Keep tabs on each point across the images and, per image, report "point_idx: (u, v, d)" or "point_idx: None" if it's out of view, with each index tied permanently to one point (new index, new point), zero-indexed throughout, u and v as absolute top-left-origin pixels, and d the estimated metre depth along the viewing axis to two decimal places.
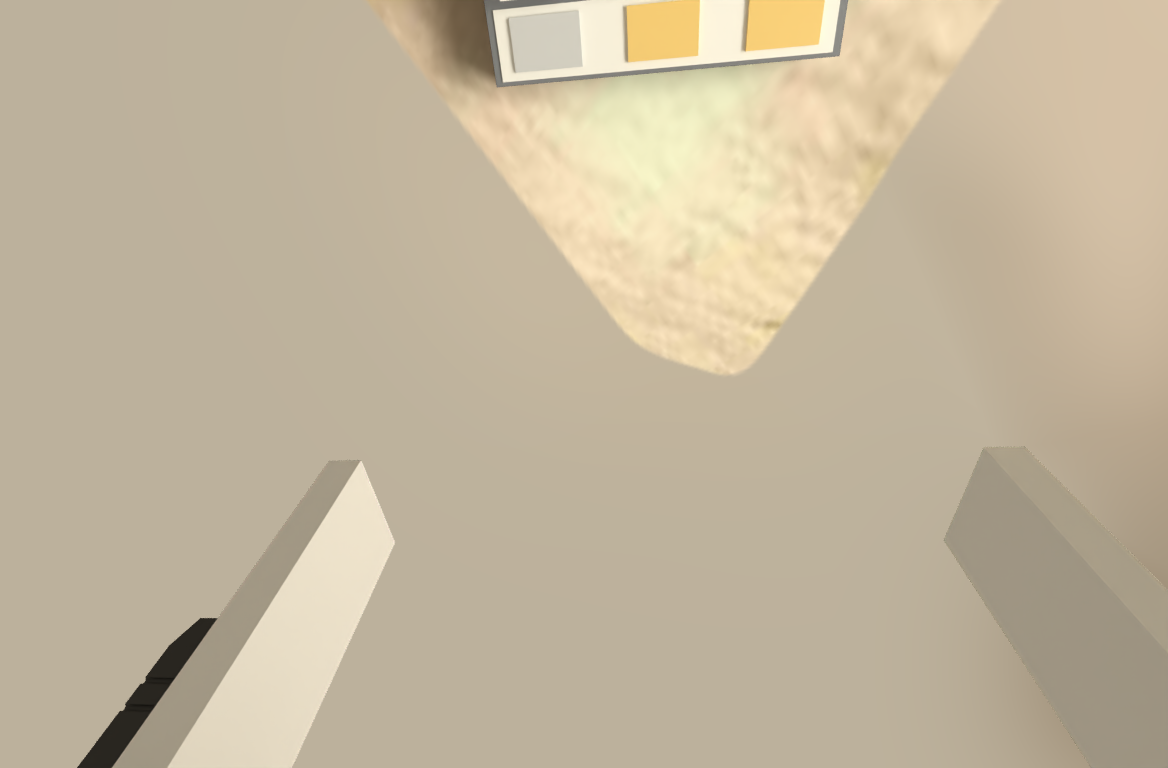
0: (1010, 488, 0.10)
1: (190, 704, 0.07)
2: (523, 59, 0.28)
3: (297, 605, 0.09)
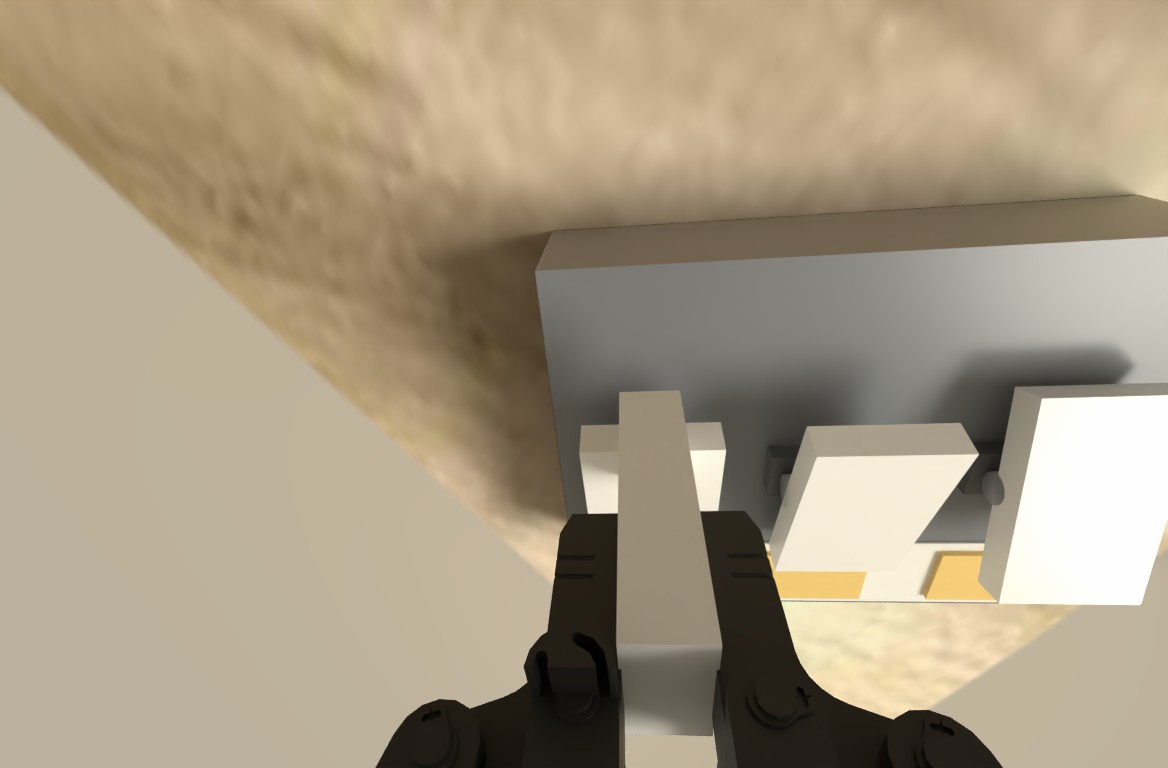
0: (650, 420, 0.12)
1: (646, 563, 0.09)
2: None
3: None
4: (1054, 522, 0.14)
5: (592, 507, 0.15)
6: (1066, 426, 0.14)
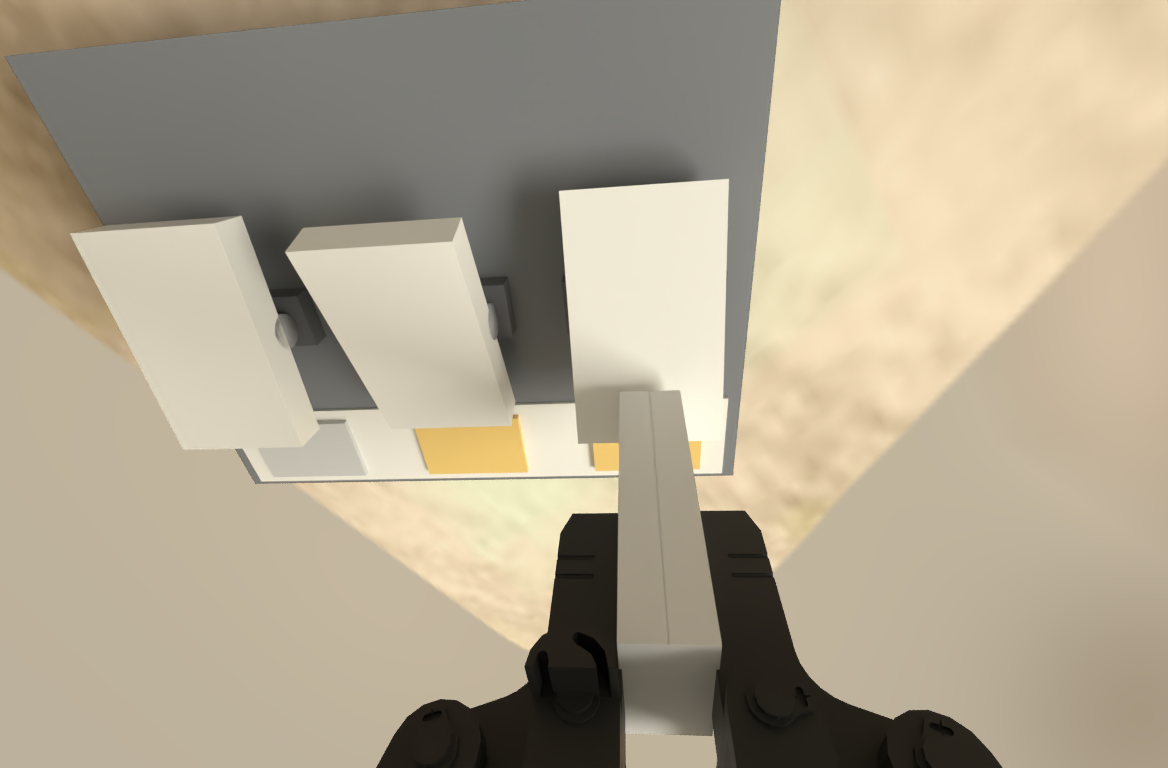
0: (651, 420, 0.12)
1: (647, 563, 0.09)
2: (280, 465, 0.19)
3: None
4: (610, 344, 0.13)
5: (123, 326, 0.14)
6: (593, 225, 0.12)
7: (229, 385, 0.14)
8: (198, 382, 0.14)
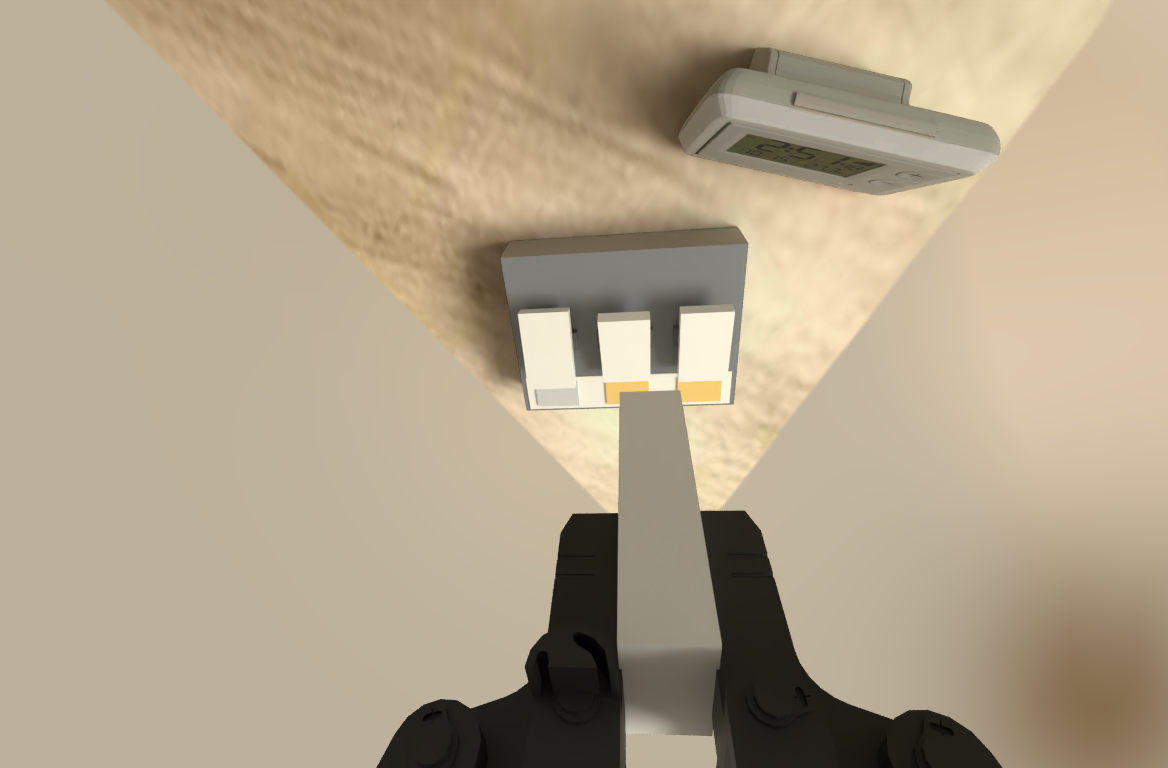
0: (651, 419, 0.12)
1: (647, 563, 0.09)
2: (543, 401, 0.45)
3: None
4: (692, 354, 0.40)
5: (523, 343, 0.40)
6: (690, 322, 0.38)
7: (555, 364, 0.41)
8: (543, 363, 0.41)
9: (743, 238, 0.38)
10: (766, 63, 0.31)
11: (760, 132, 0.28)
